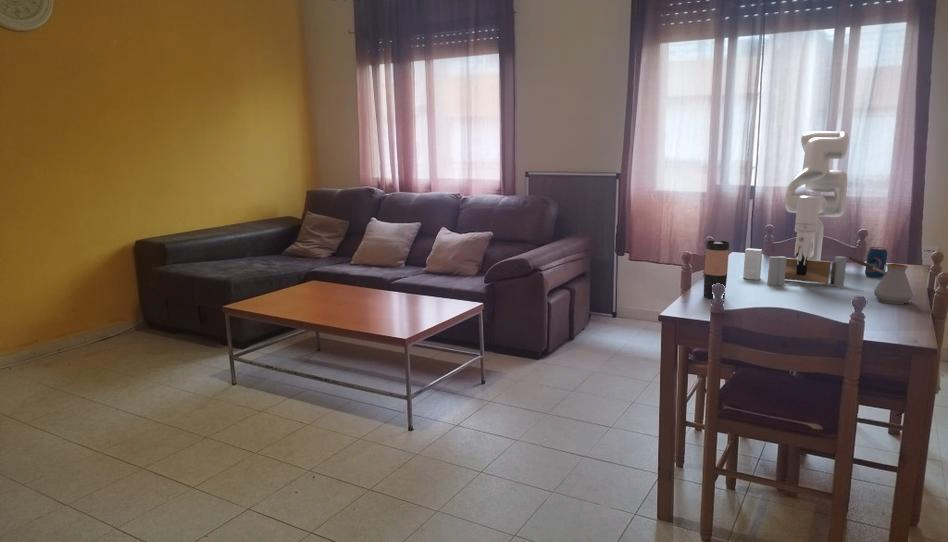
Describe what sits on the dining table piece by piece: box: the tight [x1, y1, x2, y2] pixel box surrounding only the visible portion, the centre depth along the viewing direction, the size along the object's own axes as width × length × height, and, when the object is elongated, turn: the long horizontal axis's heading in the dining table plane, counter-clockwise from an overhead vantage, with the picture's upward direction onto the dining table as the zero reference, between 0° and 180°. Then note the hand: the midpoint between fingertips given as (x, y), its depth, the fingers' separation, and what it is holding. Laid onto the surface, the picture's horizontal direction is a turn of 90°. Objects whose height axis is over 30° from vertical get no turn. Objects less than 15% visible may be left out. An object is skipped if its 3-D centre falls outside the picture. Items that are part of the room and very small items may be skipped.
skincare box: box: [742, 247, 763, 280], centre depth 261 cm, size 6×4×12 cm
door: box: [785, 257, 836, 284], centre depth 254 cm, size 2×19×8 cm, turn 59°
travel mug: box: [703, 240, 730, 300], centre depth 230 cm, size 8×8×20 cm
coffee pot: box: [845, 256, 914, 305], centre depth 225 cm, size 21×12×15 cm, turn 68°
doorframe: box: [766, 255, 848, 287], centre depth 249 cm, size 3×28×11 cm, turn 89°
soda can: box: [864, 246, 888, 279], centre depth 263 cm, size 7×7×12 cm
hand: (801, 274), depth 251 cm, fingers closed
